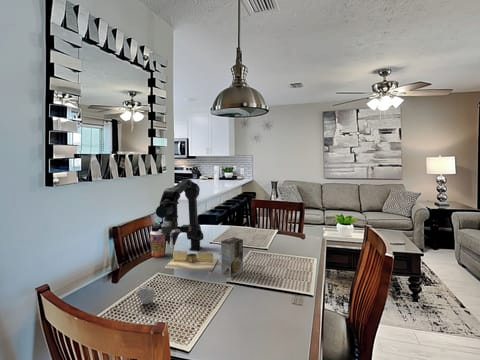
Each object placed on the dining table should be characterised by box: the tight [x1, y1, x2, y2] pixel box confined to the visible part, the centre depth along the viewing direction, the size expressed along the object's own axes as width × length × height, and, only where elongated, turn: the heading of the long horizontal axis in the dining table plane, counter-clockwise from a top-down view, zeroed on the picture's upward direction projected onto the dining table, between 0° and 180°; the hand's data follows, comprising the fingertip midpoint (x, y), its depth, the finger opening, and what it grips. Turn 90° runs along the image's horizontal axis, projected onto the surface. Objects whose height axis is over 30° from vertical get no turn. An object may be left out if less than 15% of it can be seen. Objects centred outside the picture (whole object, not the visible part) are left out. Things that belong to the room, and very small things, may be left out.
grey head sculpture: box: [135, 285, 156, 305], centre depth 108 cm, size 6×7×7 cm
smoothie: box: [149, 220, 166, 258], centre depth 160 cm, size 8×8×20 cm
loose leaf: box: [197, 251, 214, 262], centre depth 151 cm, size 2×8×4 cm, turn 85°
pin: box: [169, 231, 175, 249], centre depth 144 cm, size 3×3×8 cm
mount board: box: [164, 257, 219, 272], centre depth 149 cm, size 16×24×1 cm, turn 84°
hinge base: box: [172, 250, 198, 263], centre depth 152 cm, size 5×13×5 cm, turn 84°
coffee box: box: [220, 236, 244, 278], centre depth 137 cm, size 9×6×16 cm
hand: (171, 245), depth 144 cm, fingers closed on pin, 2 cm apart
